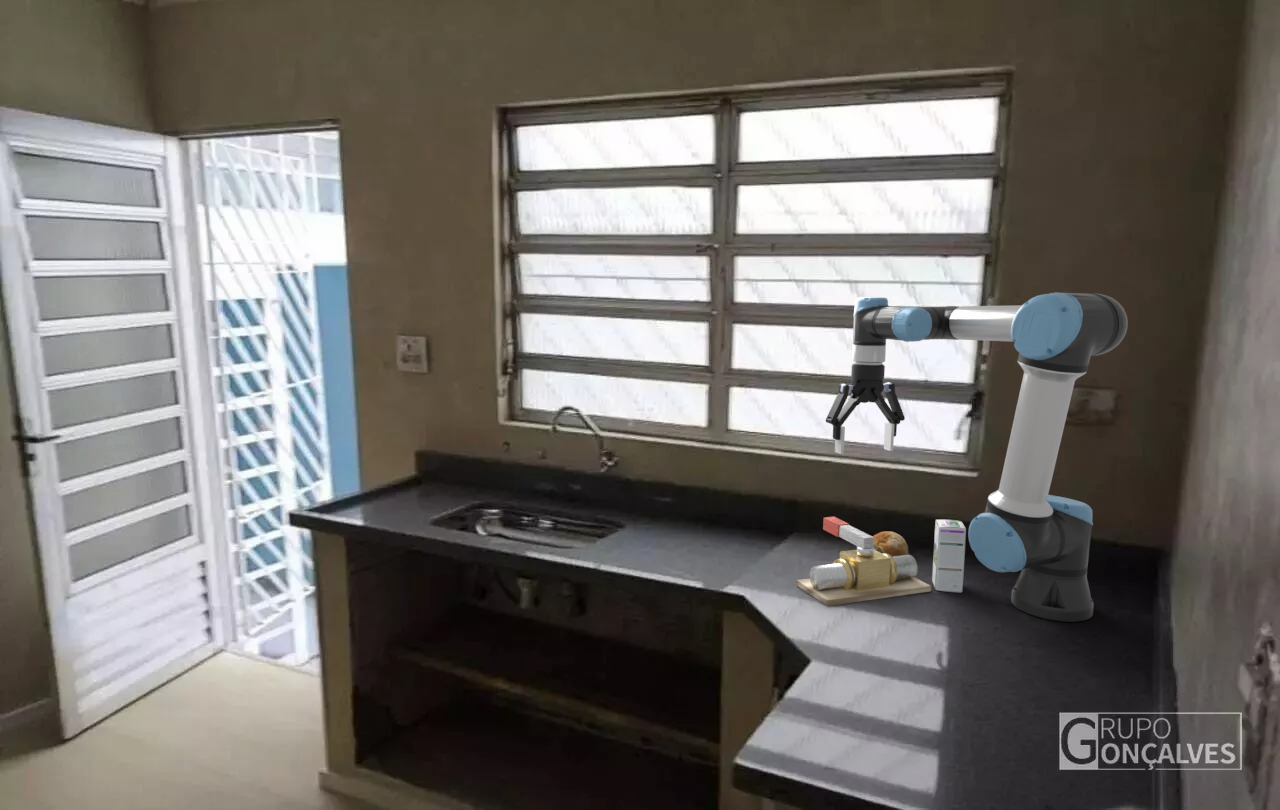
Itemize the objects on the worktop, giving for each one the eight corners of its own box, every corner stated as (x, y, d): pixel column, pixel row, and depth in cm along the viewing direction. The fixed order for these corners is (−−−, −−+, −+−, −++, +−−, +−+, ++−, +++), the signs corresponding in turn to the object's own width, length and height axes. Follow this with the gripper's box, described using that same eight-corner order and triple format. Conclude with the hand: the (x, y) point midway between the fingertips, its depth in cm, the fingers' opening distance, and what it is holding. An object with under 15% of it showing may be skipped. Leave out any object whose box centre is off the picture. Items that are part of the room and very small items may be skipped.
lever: (877, 555, 176) (878, 537, 176) (863, 557, 175) (864, 538, 175) (834, 533, 192) (835, 516, 191) (821, 534, 190) (822, 517, 190)
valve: (899, 575, 186) (901, 544, 185) (919, 586, 179) (921, 554, 178) (806, 587, 178) (808, 555, 177) (824, 599, 171) (826, 565, 170)
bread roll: (905, 578, 195) (921, 549, 194) (867, 560, 195) (883, 530, 194) (893, 564, 205) (909, 536, 204) (857, 546, 205) (872, 518, 203)
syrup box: (963, 593, 177) (968, 528, 175) (934, 590, 178) (938, 525, 176) (958, 583, 182) (963, 520, 180) (930, 581, 184) (935, 518, 181)
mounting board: (930, 591, 178) (931, 585, 177) (826, 606, 169) (827, 600, 169) (895, 572, 189) (896, 567, 188) (796, 585, 180) (796, 580, 180)
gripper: (903, 360, 201) (898, 445, 204) (813, 362, 194) (809, 451, 197) (923, 363, 194) (917, 451, 197) (830, 365, 187) (826, 457, 190)
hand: (864, 451), depth 197 cm, fingers open, 13 cm apart
